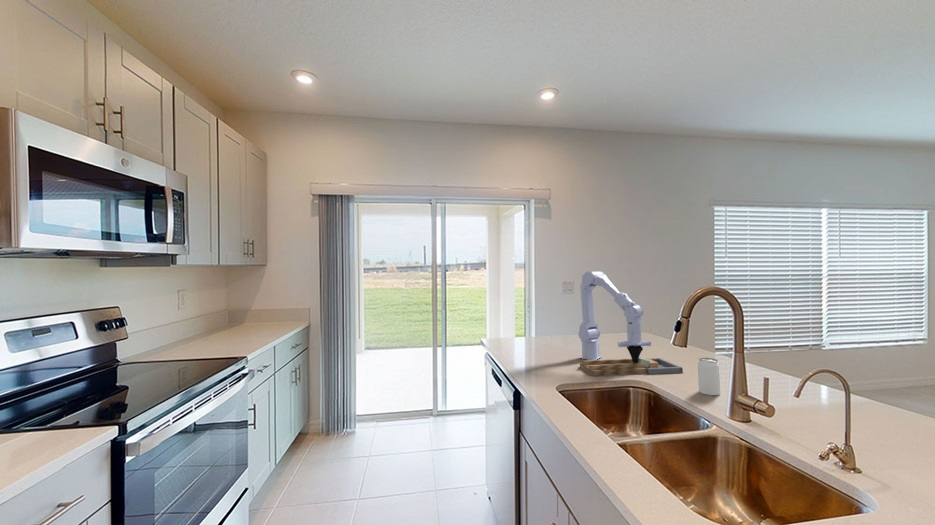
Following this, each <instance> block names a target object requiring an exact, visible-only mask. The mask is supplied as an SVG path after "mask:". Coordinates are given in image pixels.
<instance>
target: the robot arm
mask: <svg viewBox="0 0 935 525" xmlns="http://www.w3.org/2000/svg"><path fill="white" fill-rule="evenodd" d="M597 286H599V287H602V288H603V289H604V290H605V291H606V292H608V293H609V294H610V295H611V296H612V297H613V301H614V303H615V304H616V305H617V306H618V307H619V308H620V309H621V310H622V311H623V315H624V317H625V318H626V331H627V332H626V335H627V336H626V337H627V338H626V340H625V341H617V347H618V348H625V347H626V349H627V350H628V353H629V355H630V359H632V362H633V363H638V359H639V357H640V355H641V354H642V352H643V350H644V349H643V347H652V341H650V340H642V316H643V315H644V309H643V307H642V306H641V305H640V304H636V302H635V301H633V300H631V299H630V298H629V296H628V294H627V293H624V292H620V291H619V290H618V289H617V287H616V286H615V285H614V284H613V283H612V282H611V280H610V279H609V278H608V276H607V274H605V273H604V272H603V271H602V270H595V271H590V270H588V271H587V270H586V272H584V274H583V275H582V276H581V283H580V286H579V287H580V300H581V312H582V313H581V314H582V322H581V323H580V325H579V330H578V338H579V339H580V341H581V357H582V359H581V360H583V359H587V360H597V359H598V360H600V359H601V358H602V355H601V354H600V351H601V350H600V343H599V342H598V339H599V338H600V335H601V332H600V329H599V327H598V324H597V322H596V321H595V313H594V311H595V310H594V300H593V299H594V298H593V290H594V289H595V288H596V287H597ZM599 358H600V359H599ZM587 360H586V361H587Z"/></svg>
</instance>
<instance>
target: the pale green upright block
mask: <svg viewBox="0 0 935 525" xmlns="http://www.w3.org/2000/svg"><path fill="white" fill-rule="evenodd" d="M646 359H647V358H644V357H640V356H639V359H638V363H643V364H644V367H647V368H648V367H649V363H650V361H648V360H646Z"/></svg>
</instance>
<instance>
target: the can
mask: <svg viewBox="0 0 935 525" xmlns="http://www.w3.org/2000/svg"><path fill="white" fill-rule="evenodd" d="M720 370H721V369H720V363H719V362H718V359H715V358H711V357H700V358H698V362H697V378H698V379H697V382H698V384H697V385H698V392H699V393H700V392H701V393H700V394H702V393H703V394H702V395H704V394H707V395H706V396H709V395H718V396H719V395H721V377H720V376H721V374H720Z"/></svg>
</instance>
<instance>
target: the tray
mask: <svg viewBox="0 0 935 525" xmlns="http://www.w3.org/2000/svg"><path fill="white" fill-rule="evenodd" d="M649 359H651V360H653V361H655V362H658V368H646V369H647V374H646V375H662V374H682V373H684V372H683V370H684V369H683V367H682V366H679V365H677V364H675V363H672V362H671V361H670V362H669V361H667V360H665V359H663V358H661V357H656V358H655V357H653V358H649ZM644 368H645V367H644Z"/></svg>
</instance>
